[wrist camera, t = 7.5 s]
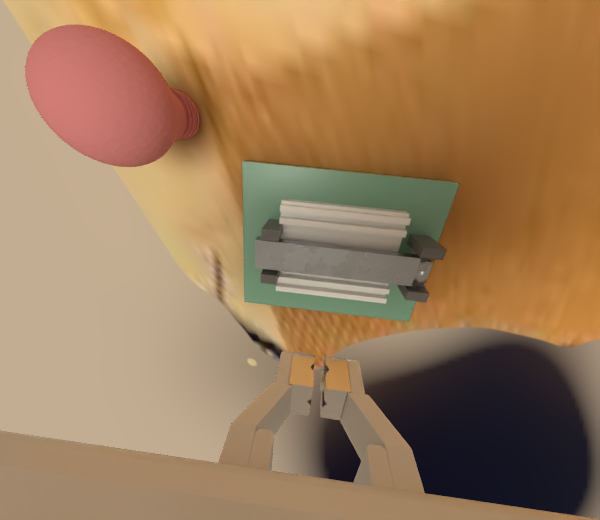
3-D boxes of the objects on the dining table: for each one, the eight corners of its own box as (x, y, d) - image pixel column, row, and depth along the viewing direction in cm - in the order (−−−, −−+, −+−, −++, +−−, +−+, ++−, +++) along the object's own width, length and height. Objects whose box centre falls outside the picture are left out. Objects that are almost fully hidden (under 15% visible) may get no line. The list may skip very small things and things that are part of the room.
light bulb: (172, 170, 24) (55, 189, 14) (131, 92, 22) (-58, 37, 11) (233, 145, 23) (155, 143, 12) (197, 58, 20) (54, -46, 9)
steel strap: (430, 254, 23) (438, 261, 21) (421, 281, 24) (427, 289, 23) (258, 235, 23) (254, 240, 22) (258, 262, 25) (254, 269, 23)
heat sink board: (451, 181, 23) (483, 189, 18) (404, 313, 30) (419, 343, 25) (246, 160, 23) (229, 163, 19) (247, 294, 30) (235, 320, 26)
